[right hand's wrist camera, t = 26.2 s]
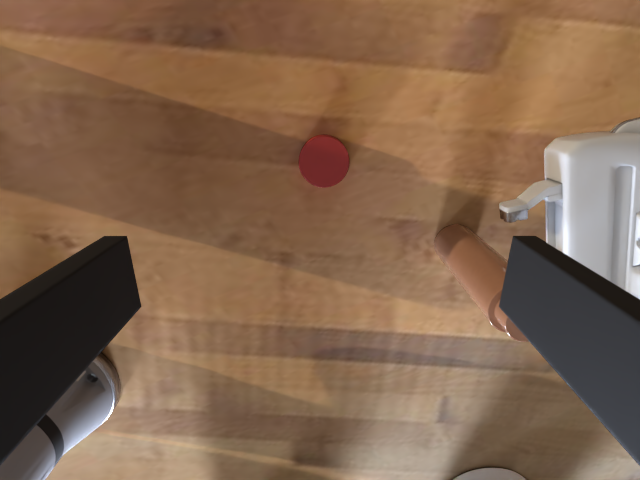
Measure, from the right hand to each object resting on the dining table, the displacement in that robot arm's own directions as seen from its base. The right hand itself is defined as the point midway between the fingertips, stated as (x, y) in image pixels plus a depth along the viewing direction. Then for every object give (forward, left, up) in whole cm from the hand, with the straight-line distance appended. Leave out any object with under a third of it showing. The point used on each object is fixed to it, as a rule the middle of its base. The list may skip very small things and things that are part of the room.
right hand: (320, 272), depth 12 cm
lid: (0, 0, -25) cm, 25 cm away
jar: (-3, -17, -26) cm, 32 cm away
